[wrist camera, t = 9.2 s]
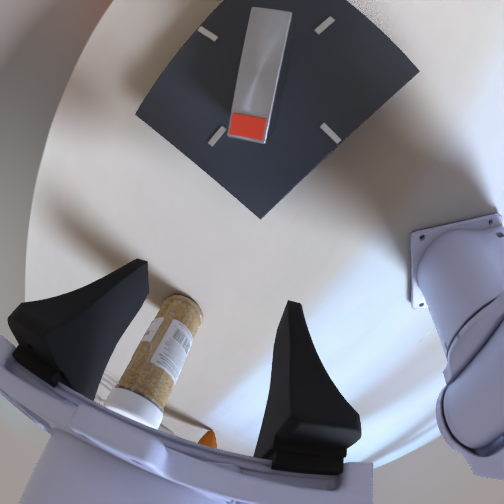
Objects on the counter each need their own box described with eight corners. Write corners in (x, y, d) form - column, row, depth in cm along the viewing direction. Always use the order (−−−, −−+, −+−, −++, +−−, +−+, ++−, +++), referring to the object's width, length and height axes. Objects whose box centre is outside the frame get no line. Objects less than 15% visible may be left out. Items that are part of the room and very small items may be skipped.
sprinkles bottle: (158, 291, 28) (91, 399, 16) (199, 294, 27) (140, 416, 15) (170, 324, 30) (118, 426, 19) (209, 328, 29) (164, 441, 18)
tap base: (280, -28, 11) (275, -47, 9) (403, 74, 14) (421, 71, 11) (155, 110, 18) (133, 114, 16) (266, 203, 21) (260, 220, 18)
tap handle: (263, 25, 12) (250, 4, 8) (295, 30, 12) (292, 10, 8) (243, 128, 15) (224, 137, 12) (273, 134, 15) (264, 145, 12)
